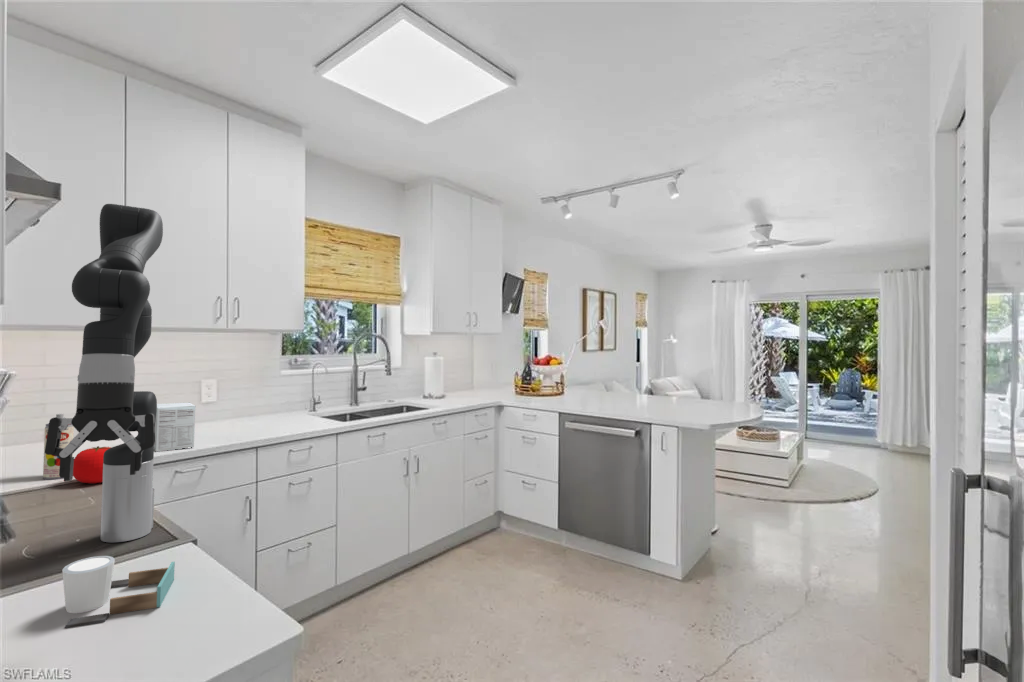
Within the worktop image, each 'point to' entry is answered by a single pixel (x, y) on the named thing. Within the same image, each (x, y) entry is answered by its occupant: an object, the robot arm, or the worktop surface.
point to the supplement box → (174, 426)
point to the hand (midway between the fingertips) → (101, 477)
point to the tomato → (89, 465)
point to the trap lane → (127, 597)
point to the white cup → (87, 583)
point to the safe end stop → (165, 584)
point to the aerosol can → (52, 461)
